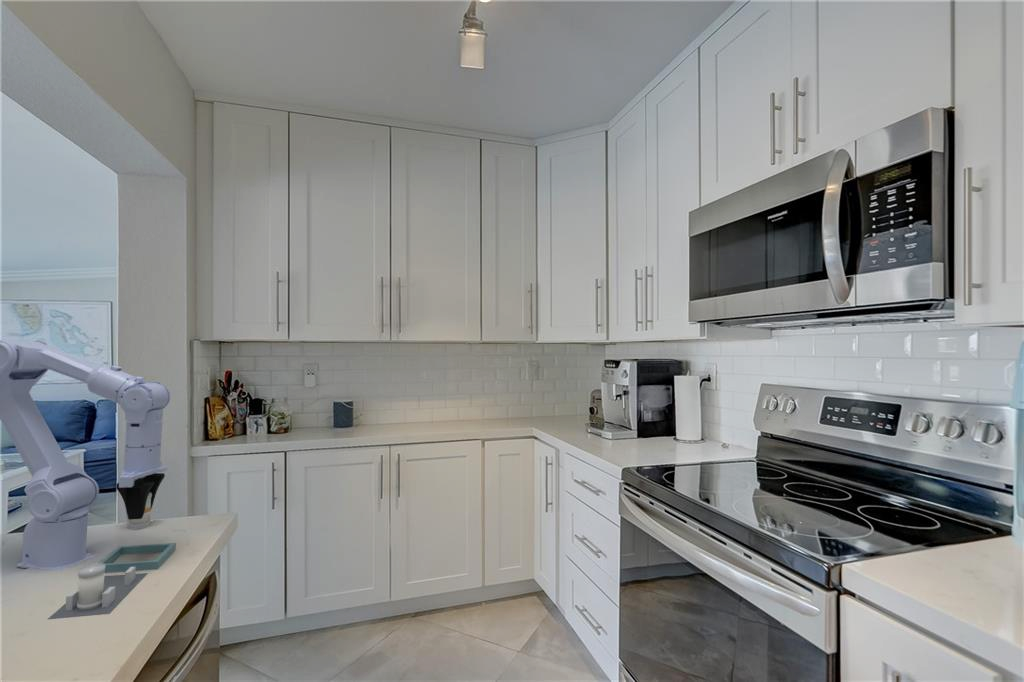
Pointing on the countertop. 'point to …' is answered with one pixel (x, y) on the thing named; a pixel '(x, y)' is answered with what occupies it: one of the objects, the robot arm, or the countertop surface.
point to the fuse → (90, 586)
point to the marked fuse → (146, 517)
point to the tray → (138, 549)
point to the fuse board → (103, 595)
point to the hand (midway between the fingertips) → (139, 515)
